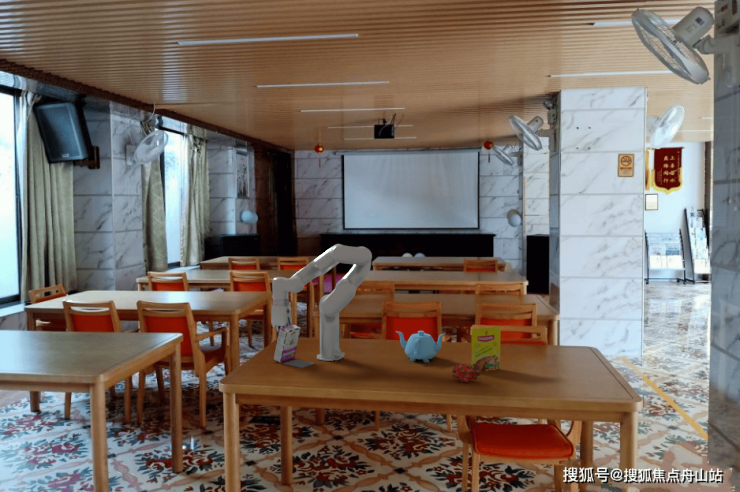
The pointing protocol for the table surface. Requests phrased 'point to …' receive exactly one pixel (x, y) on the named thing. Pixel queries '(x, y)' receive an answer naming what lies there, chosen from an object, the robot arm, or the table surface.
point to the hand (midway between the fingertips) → (281, 339)
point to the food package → (486, 349)
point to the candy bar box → (286, 343)
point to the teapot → (421, 346)
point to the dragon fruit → (465, 373)
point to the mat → (298, 363)
